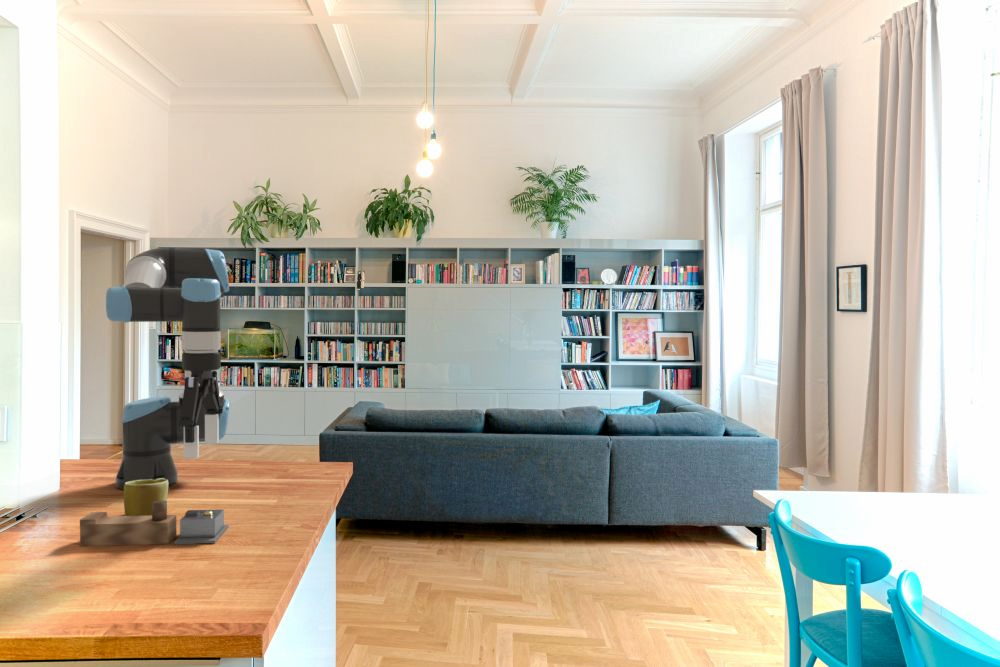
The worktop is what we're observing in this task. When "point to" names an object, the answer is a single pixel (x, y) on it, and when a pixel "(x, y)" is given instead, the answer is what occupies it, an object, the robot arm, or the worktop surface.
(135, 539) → the plane body
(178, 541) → the mat
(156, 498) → the mug
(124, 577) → the worktop surface
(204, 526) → the lever cap
